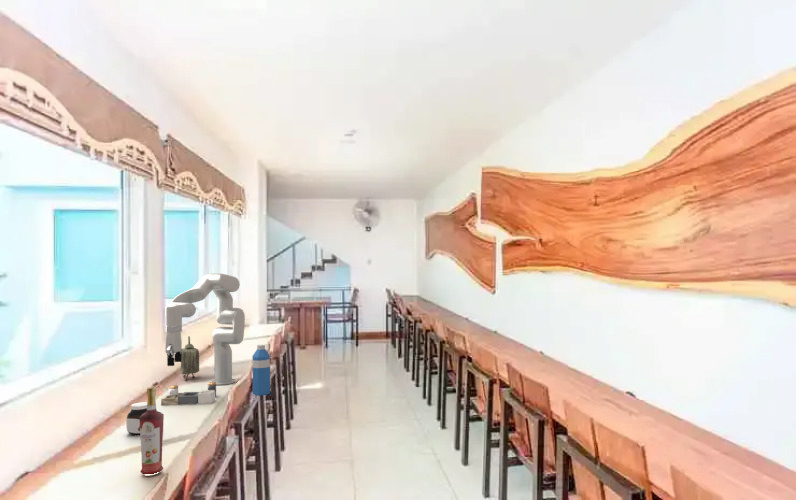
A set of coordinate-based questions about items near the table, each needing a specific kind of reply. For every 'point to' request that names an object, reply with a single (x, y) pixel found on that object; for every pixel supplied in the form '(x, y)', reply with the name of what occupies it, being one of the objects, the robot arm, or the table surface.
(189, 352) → the olive tall ribbed piece
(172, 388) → the cylinder
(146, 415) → the liquor
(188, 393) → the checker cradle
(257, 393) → the water bottle
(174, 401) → the trough
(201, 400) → the cup
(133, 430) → the spread jar
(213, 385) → the black cell
